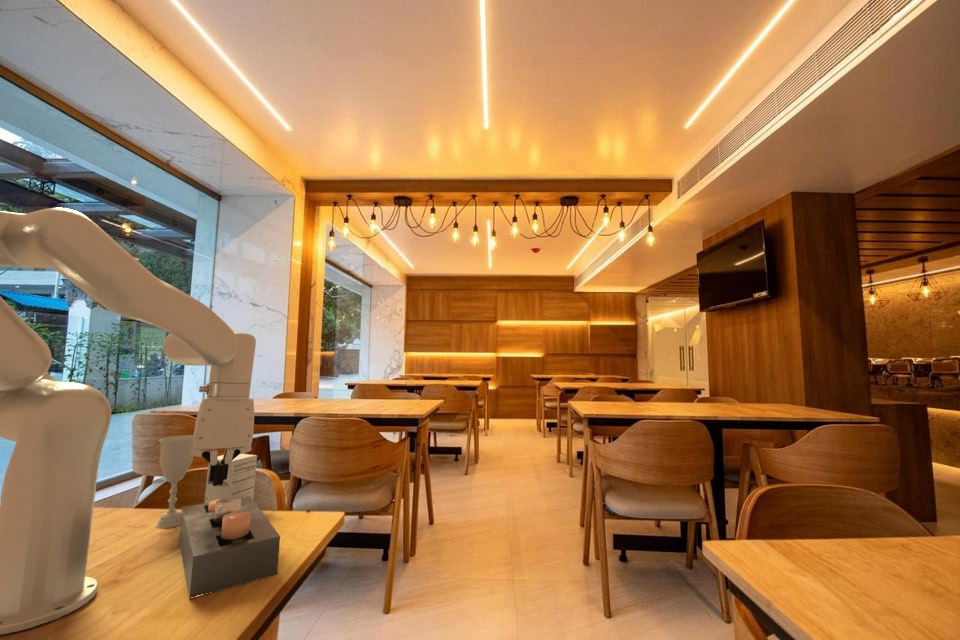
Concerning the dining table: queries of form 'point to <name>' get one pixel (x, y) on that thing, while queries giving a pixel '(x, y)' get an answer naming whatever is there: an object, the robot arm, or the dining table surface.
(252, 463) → the supplement box
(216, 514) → the middle knob
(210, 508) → the far knob
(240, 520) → the near knob
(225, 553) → the knob housing
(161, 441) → the chalice
